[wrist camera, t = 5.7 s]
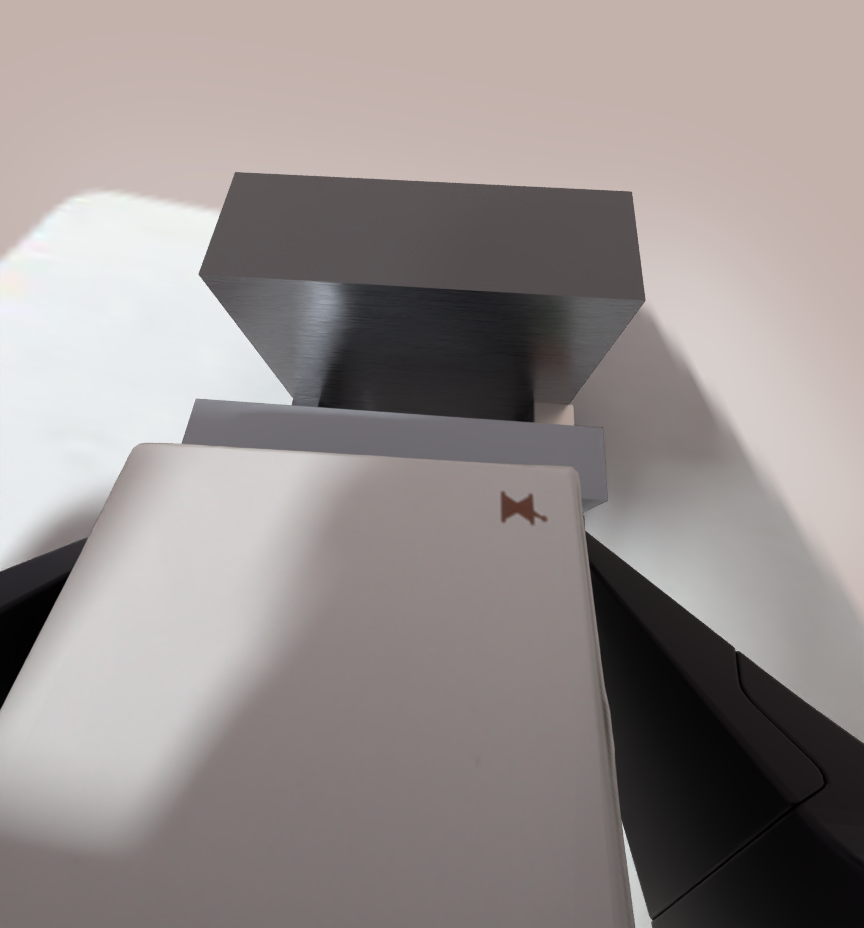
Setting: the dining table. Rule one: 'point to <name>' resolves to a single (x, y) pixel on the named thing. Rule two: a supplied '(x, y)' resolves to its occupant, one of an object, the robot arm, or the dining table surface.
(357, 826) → the supplement box
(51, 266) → the dining table surface
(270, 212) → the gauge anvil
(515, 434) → the pad
